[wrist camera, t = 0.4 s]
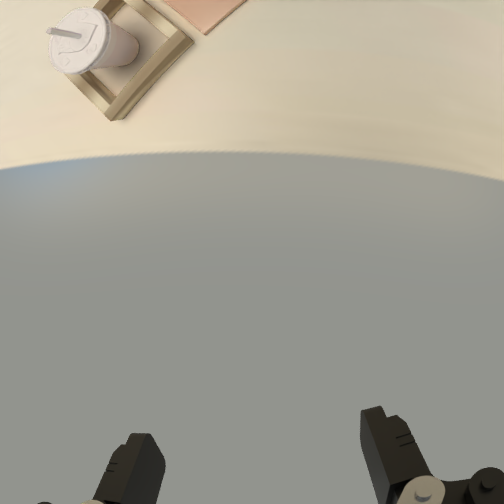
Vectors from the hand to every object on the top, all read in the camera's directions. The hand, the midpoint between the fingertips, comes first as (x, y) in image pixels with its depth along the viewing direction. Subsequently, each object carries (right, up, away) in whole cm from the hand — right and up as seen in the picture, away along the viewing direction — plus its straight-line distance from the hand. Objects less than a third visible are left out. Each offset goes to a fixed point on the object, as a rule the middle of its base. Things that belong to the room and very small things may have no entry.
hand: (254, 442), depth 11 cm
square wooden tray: (-14, +29, +18) cm, 37 cm away
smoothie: (-14, +29, +18) cm, 37 cm away
